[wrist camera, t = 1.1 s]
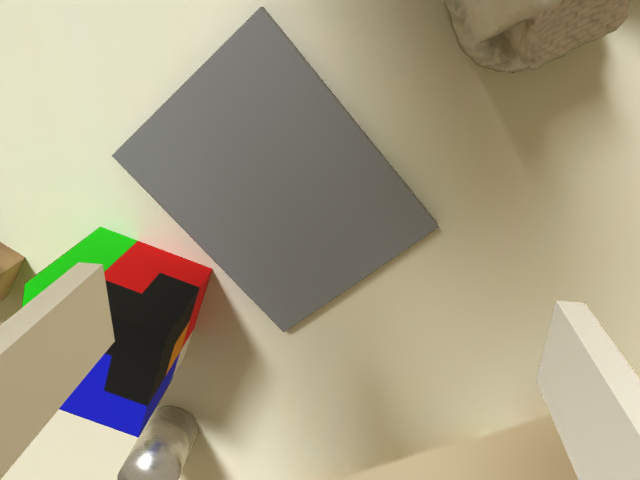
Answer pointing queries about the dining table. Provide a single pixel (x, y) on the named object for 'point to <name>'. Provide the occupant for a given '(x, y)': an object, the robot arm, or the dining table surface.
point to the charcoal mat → (274, 176)
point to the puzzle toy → (132, 325)
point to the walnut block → (8, 268)
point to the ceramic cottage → (530, 28)
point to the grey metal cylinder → (162, 446)
